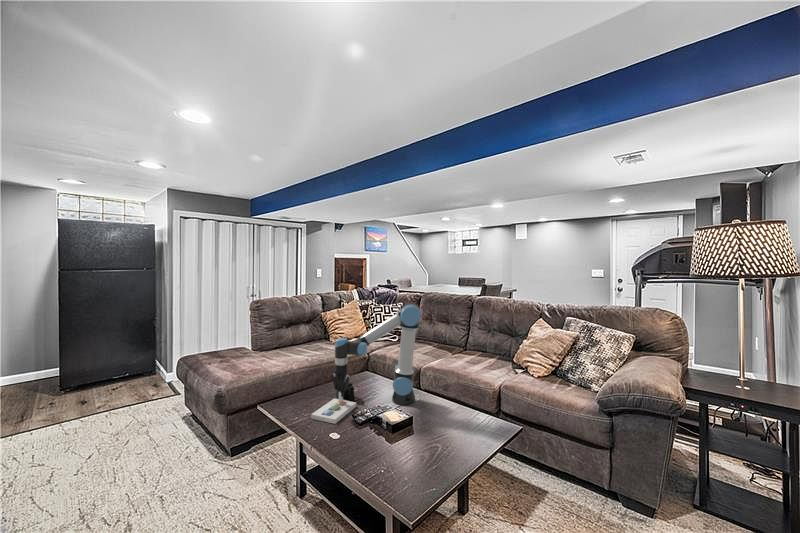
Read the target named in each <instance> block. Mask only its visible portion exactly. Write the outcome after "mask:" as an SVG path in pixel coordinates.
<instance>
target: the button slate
mask: <svg viewBox="0 0 800 533" xmlns="http://www.w3.org/2000/svg"><path fill="white" fill-rule="evenodd" d="M324 415H326V416H331V415H332V410H325V411H324Z"/></svg>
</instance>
